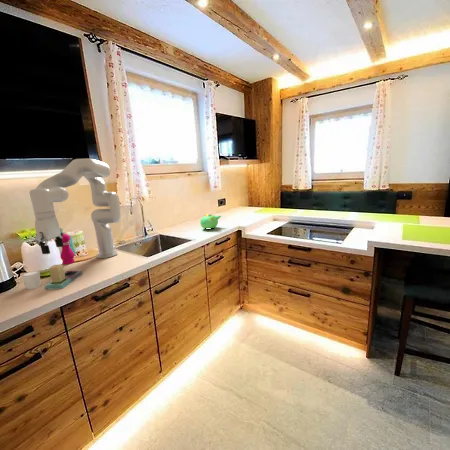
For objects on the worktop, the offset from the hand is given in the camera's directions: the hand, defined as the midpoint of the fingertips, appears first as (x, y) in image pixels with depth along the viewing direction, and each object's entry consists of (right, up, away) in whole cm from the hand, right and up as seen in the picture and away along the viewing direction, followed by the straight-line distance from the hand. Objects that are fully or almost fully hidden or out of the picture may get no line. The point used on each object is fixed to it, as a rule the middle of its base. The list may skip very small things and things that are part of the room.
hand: (53, 250), depth 112 cm
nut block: (+1, -18, +3) cm, 18 cm away
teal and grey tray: (+1, -17, +8) cm, 18 cm away
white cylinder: (-12, -19, +3) cm, 22 cm away
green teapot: (+69, +8, +109) cm, 129 cm away
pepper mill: (-15, -12, +34) cm, 39 cm away
